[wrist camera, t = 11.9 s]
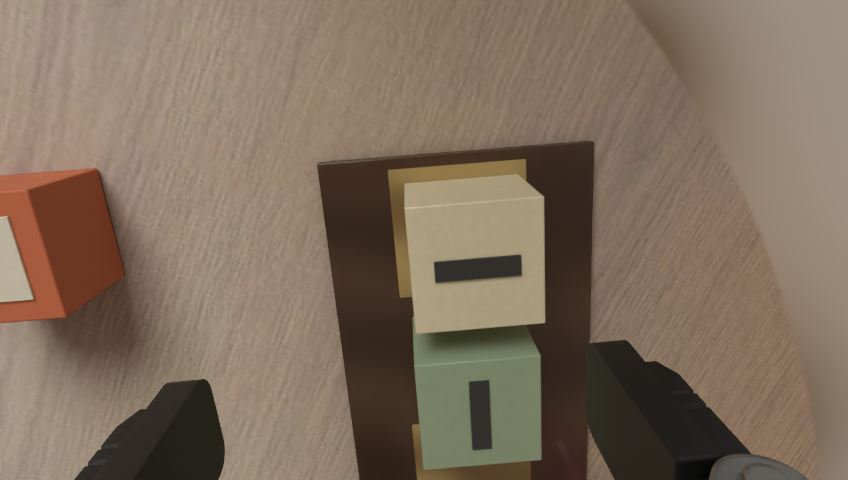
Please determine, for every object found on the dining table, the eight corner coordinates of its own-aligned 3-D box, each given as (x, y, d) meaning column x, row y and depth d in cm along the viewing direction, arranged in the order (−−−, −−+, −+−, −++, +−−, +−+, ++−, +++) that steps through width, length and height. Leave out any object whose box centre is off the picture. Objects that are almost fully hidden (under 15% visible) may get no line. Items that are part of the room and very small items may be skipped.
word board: (318, 162, 23) (316, 164, 23) (590, 140, 23) (595, 142, 23) (367, 523, 29) (366, 531, 28) (583, 504, 29) (586, 512, 29)
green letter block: (412, 316, 25) (414, 367, 20) (517, 307, 25) (541, 356, 21) (420, 406, 26) (423, 472, 22) (519, 398, 26) (542, 462, 22)
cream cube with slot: (404, 183, 23) (404, 208, 19) (518, 173, 23) (545, 196, 19) (413, 289, 24) (415, 336, 20) (520, 280, 24) (546, 324, 20)
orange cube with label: (-19, 177, 23) (-120, 201, 18) (97, 167, 23) (24, 189, 18) (16, 284, 24) (-69, 330, 20) (125, 275, 24) (64, 319, 20)
